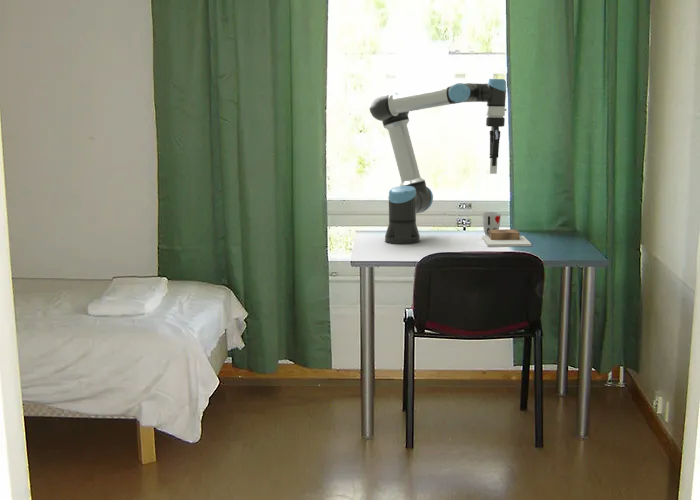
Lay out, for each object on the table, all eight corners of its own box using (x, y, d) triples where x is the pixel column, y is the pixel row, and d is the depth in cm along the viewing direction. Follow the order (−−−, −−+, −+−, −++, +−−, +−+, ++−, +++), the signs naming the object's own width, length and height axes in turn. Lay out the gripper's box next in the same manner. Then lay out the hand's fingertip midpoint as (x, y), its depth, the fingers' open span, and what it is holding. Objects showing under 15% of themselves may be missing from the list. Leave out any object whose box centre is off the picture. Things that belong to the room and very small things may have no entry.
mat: (487, 246, 355) (487, 244, 355) (482, 238, 375) (482, 236, 375) (531, 246, 355) (531, 243, 354) (523, 238, 374) (523, 235, 374)
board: (491, 233, 365) (488, 229, 374) (491, 239, 365) (488, 236, 374) (519, 232, 364) (516, 229, 373) (519, 239, 365) (516, 236, 374)
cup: (484, 237, 378) (485, 214, 376) (479, 234, 386) (480, 212, 384) (502, 236, 379) (503, 214, 377) (497, 233, 387) (497, 211, 385)
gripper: (507, 117, 348) (504, 175, 353) (502, 116, 361) (499, 172, 366) (488, 117, 348) (486, 175, 353) (484, 116, 361) (482, 171, 366)
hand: (493, 173), depth 359 cm, fingers closed
